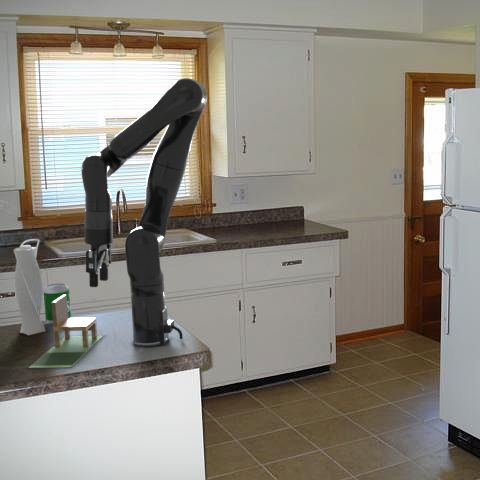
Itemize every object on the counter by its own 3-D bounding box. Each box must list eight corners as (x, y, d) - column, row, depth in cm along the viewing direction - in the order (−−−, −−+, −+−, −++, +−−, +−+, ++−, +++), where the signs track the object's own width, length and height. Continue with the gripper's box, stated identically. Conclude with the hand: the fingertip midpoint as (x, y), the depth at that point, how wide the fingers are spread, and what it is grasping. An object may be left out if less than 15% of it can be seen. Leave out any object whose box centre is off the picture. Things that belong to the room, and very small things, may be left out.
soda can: (63, 326, 224) (60, 288, 222) (41, 325, 225) (38, 287, 224) (76, 319, 231) (73, 283, 229) (54, 318, 233) (51, 282, 231)
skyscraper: (39, 326, 224) (32, 237, 219) (52, 331, 219) (45, 239, 214) (14, 332, 218) (6, 240, 213) (27, 337, 213) (19, 243, 209)
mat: (103, 336, 213) (103, 335, 213) (71, 367, 186) (71, 366, 186) (65, 336, 213) (65, 336, 213) (28, 368, 186) (28, 367, 186)
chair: (97, 337, 211) (94, 294, 209) (87, 347, 202) (84, 301, 200) (66, 338, 211) (63, 294, 209) (55, 347, 202) (51, 302, 200)
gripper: (103, 230, 194) (104, 289, 196) (119, 223, 208) (120, 278, 211) (76, 229, 194) (76, 288, 197) (93, 222, 208) (94, 277, 211)
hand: (99, 283), depth 204 cm, fingers open, 8 cm apart
